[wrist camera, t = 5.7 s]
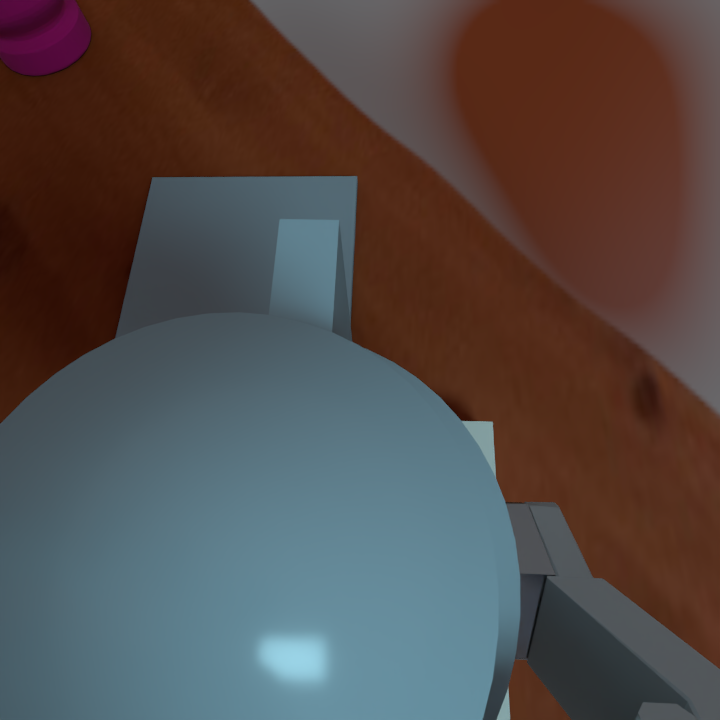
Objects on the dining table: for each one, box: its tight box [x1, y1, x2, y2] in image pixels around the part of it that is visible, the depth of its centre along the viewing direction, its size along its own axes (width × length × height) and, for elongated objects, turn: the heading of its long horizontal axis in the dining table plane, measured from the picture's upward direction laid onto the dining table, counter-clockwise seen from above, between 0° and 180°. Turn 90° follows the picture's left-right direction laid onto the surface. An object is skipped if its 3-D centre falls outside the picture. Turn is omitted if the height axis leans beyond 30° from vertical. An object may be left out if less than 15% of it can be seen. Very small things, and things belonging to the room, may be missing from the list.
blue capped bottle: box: [0, 219, 520, 720], centre depth 10 cm, size 6×8×13 cm
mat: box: [115, 176, 357, 338], centre depth 26 cm, size 12×12×1 cm
